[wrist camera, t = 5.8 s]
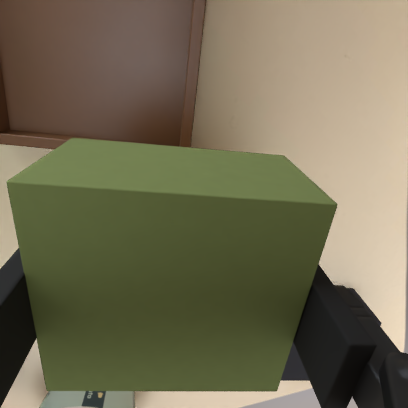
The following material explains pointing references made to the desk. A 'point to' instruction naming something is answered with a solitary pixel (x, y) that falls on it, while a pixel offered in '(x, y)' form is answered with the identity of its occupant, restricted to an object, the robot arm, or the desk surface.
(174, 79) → the brown wooden tray
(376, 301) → the desk surface
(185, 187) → the olive green block
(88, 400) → the food container
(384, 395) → the robot arm
